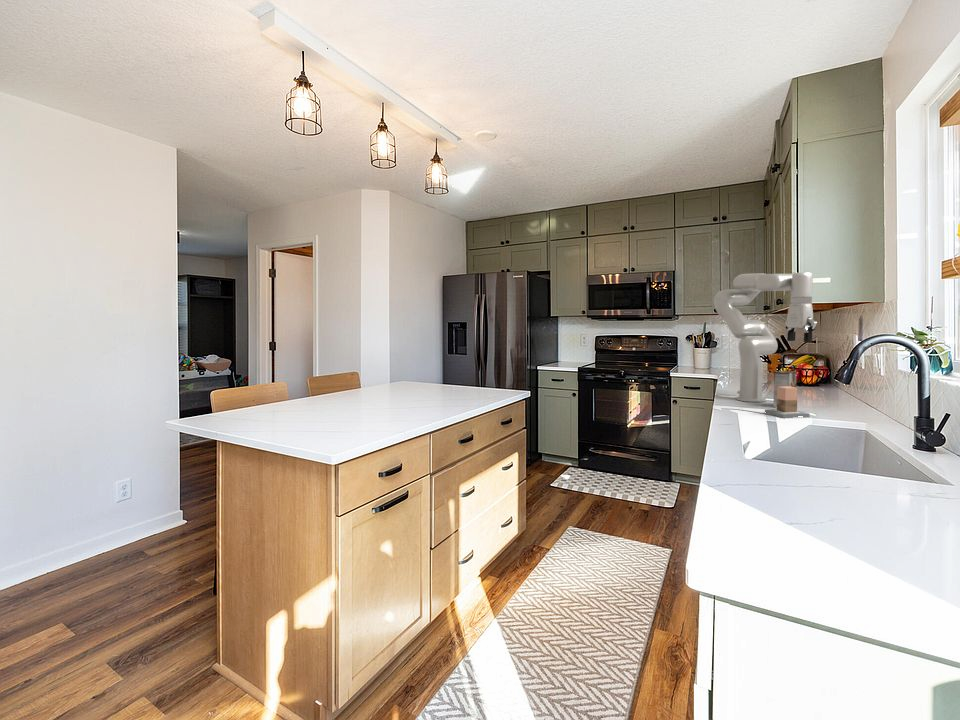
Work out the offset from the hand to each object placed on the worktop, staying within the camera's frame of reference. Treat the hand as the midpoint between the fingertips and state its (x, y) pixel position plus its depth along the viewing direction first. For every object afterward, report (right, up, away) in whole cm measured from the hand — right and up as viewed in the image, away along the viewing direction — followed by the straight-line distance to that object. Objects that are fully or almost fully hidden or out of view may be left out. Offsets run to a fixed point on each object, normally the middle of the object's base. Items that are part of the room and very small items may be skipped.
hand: (799, 341), depth 198 cm
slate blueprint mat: (-11, -31, -8) cm, 34 cm away
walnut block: (-11, -29, -8) cm, 32 cm away
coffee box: (0, -30, +10) cm, 31 cm away
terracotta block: (-11, -24, -9) cm, 28 cm away
